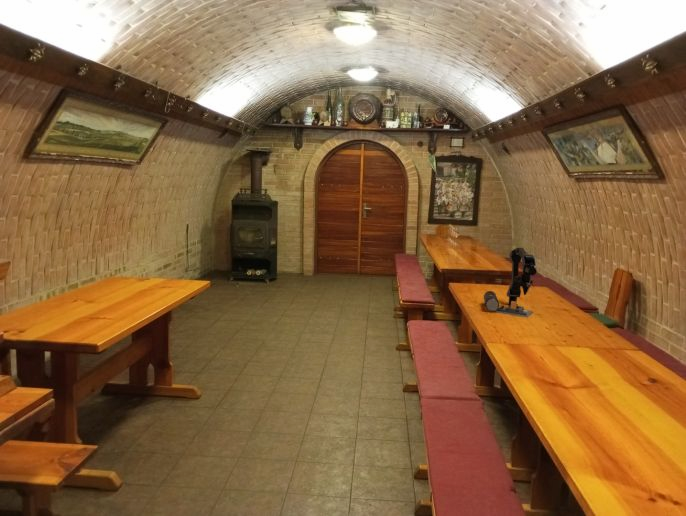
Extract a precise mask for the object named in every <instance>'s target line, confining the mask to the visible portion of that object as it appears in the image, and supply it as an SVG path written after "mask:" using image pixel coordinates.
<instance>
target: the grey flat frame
mask: <svg viewBox="0 0 686 516" xmlns="http://www.w3.org/2000/svg"><path fill="white" fill-rule="evenodd" d="M503 307H505V305H501V306H499V307H498V309H497V311H503V312H510V313H516V314H522V315H527V313H520V312H514V311H508V310H502V309H501V308H503Z"/></svg>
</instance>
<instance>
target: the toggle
mask: <svg viewBox="0 0 686 516" xmlns="http://www.w3.org/2000/svg"><path fill="white" fill-rule="evenodd" d="M516 304H518V301H517V302H515V301H511V307H510V309H516V306H517V305H516Z"/></svg>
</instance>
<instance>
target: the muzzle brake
mask: <svg viewBox="0 0 686 516" xmlns="http://www.w3.org/2000/svg"><path fill="white" fill-rule="evenodd" d="M483 299H484V300H483V301H484V307H485V309H486V310H488V311H491V312H495V310H497V309H498V308H499V307H500V302H499V299H498V297H497V295H496V292H494V291H492V290H487V291H485V293H484V294H483Z"/></svg>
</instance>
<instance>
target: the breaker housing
mask: <svg viewBox="0 0 686 516" xmlns="http://www.w3.org/2000/svg"><path fill="white" fill-rule="evenodd" d="M505 307H506V308H505V310H508V311H514V312H522V311H523V310H524V312H527V311H526V310H527V309H525V307H524V306H521V305H520V306H519V305H516V309H510V307H511V305H508V306H505Z"/></svg>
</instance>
